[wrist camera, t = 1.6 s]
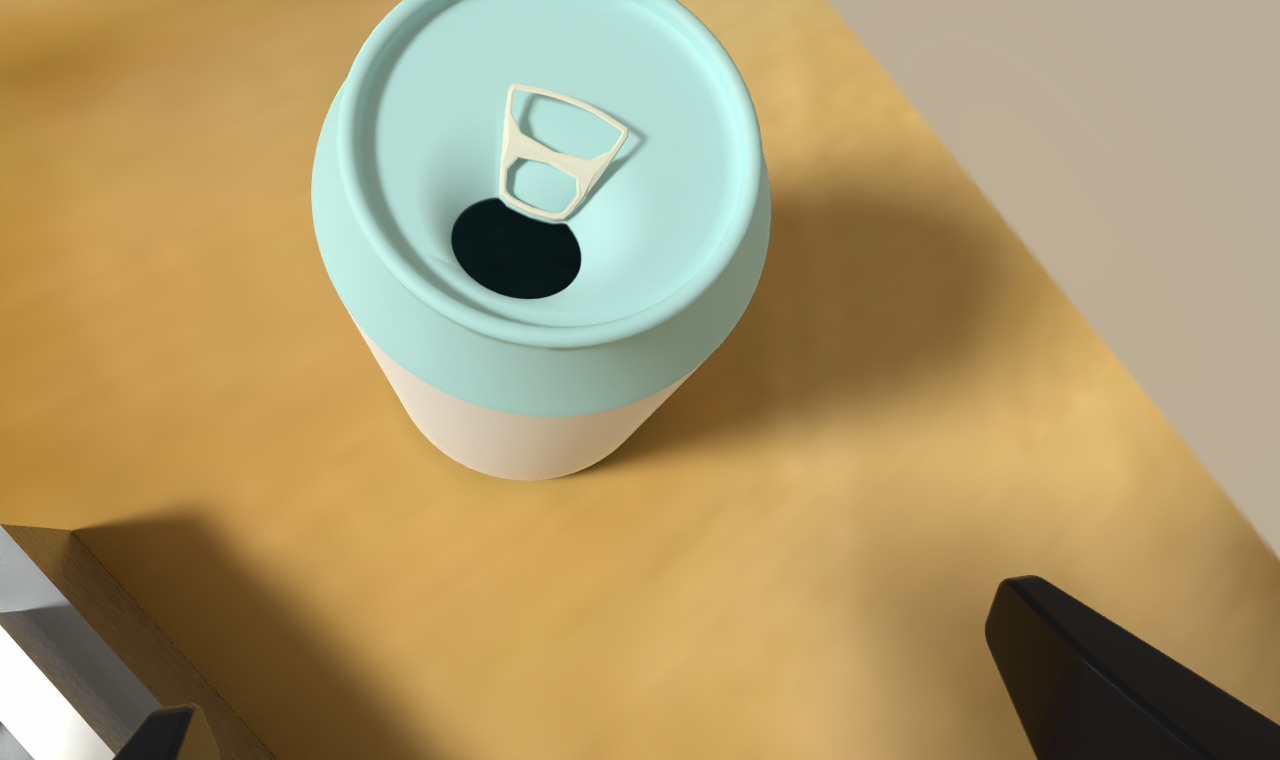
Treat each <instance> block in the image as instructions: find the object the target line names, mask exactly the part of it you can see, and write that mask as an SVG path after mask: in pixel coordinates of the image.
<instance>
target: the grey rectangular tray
mask: <svg viewBox="0 0 1280 760" xmlns="http://www.w3.org/2000/svg"><path fill="white" fill-rule="evenodd" d="M188 703H195V704H197V705H198V706H199V707H200V708H201V710H202V711H203V713H204V716H205V718H206V721H207V723H208V725H209V728H210V730H211V733H212V735H213V737H214V740H215V742H216V744H217V747H218V750H219V754H220V760H276V758H275V757H274V756H273V755H272V754H271V753H270V752H269V751H268V749H267V748H266V747H265V746H264V745H263V744H262V743H261V742H260V741H259V739H258V738H257V737H256V736H255V735H254V734H253V733H252V732H251V731H250V729H249V728H248V727H247V726H246V725H245V724H244V723H243V722H242V721H241V719H240V718H239V717H238V716H237V715H236V714H235V713H234V712H233V711H232V709H231V708H230V707H229V706H228V705H227V704H226V703H225V702H224V701H223V699H222V698H221V697H220V696H219V695H218V694H217V693H216V692H215V691H214V689H213V688H212V687H211V686H210V685H209V684H208V683H207V682H206V681H205V679H204V678H203V677H202V676H201V675H200V674H199V673H198V672H197V671H196V669H195V668H194V667H193V666H192V665H191V664H190V663H189V662H188V661H187V659H186V658H185V657H184V656H183V655H182V654H181V653H180V652H179V651H178V649H177V648H176V647H175V646H174V645H173V644H172V643H171V642H170V641H169V639H168V638H167V637H166V636H165V635H164V634H163V633H162V632H161V631H160V629H159V628H158V627H157V626H156V625H155V624H154V623H153V622H152V621H151V619H150V618H149V617H148V616H147V615H146V614H145V613H144V612H143V611H142V609H141V608H140V607H139V606H138V605H137V604H136V603H135V602H134V601H133V599H132V598H131V597H130V596H129V595H128V594H127V593H126V592H125V591H124V589H123V588H122V587H121V586H120V585H119V584H118V583H117V582H116V581H115V579H114V578H113V577H112V576H111V575H110V574H109V573H108V572H107V570H106V569H105V568H104V567H103V566H102V565H101V564H100V563H99V562H98V560H97V559H96V558H95V557H94V556H93V555H92V554H91V553H90V552H89V550H88V549H87V548H86V547H85V546H84V545H83V544H82V543H81V542H80V540H79V539H78V538H77V537H76V536H75V535H74V534H73V533H72V532H71V530H62V529H51V528H39V527H27V526H16V525H4V524H0V760H112V759H113V758H114V756H115V755H116V754H117V753H118V751H119V750H120V749H121V748H122V746H123V745H124V744H125V743H126V741H127V740H128V739H129V738H130V736H131V735H132V734H133V733H134V732H135V730H136V729H137V728H138V727H139V725H140V724H141V723H142V722H143V720H144V719H145V718H146V717H147V716H148V715H149V714H150V713H151V712H152V711H154V710H156V709H158V708H162V707H168V706H175V705H181V704H188Z"/></svg>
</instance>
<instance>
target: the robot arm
mask: <svg viewBox="0 0 1280 760" xmlns="http://www.w3.org/2000/svg"><path fill="white" fill-rule="evenodd" d="M985 637H986V641H987V644H988V647H989V649H990V652H991V654H992V656H993V659H994V661H995V663H996V666H997V668H998V670H999V673H1000V675H1001V677H1002V680H1003V682H1004V684H1005V687H1006V689H1007V691H1008V694H1009V696H1010V698H1011V701H1012V703H1013V705H1014V708H1015V710H1016V712H1017V715H1018V717H1019V719H1020V722H1021V724H1022V726H1023V729H1024V731H1025V733H1026V736H1027V738H1028V740H1029V743H1030V745H1031V747H1032V749H1033V751H1034V753H1035V756H1036V758H1037V760H1280V725H1278V724H1277V723H1275V722H1273V721H1272V720H1270V719H1269V718H1267V717H1265V716H1264V715H1262V714H1260V713H1259V712H1257V711H1256V710H1254V709H1252V708H1251V707H1249V706H1248V705H1246V704H1244V703H1243V702H1241V701H1240V700H1238V699H1236V698H1235V697H1233V696H1232V695H1230V694H1228V693H1227V692H1225V691H1223V690H1222V689H1220V688H1219V687H1217V686H1215V685H1214V684H1212V683H1211V682H1209V681H1207V680H1206V679H1204V678H1203V677H1201V676H1199V675H1198V674H1196V673H1194V672H1193V671H1191V670H1190V669H1188V668H1186V667H1185V666H1183V665H1182V664H1180V663H1178V662H1177V661H1175V660H1174V659H1172V658H1170V657H1169V656H1167V655H1165V654H1164V653H1162V652H1161V651H1159V650H1157V649H1156V648H1154V647H1153V646H1151V645H1149V644H1148V643H1146V642H1145V641H1143V640H1141V639H1140V638H1138V637H1136V636H1135V635H1133V634H1132V633H1130V632H1128V631H1127V630H1125V629H1124V628H1122V627H1120V626H1119V625H1117V624H1116V623H1114V622H1112V621H1111V620H1109V619H1107V618H1106V617H1104V616H1103V615H1101V614H1099V613H1098V612H1096V611H1095V610H1093V609H1091V608H1090V607H1088V606H1087V605H1085V604H1083V603H1082V602H1080V601H1079V600H1077V599H1075V598H1074V597H1072V596H1070V595H1069V594H1067V593H1066V592H1064V591H1062V590H1061V589H1059V588H1058V587H1056V586H1054V585H1053V584H1051V583H1050V582H1048V581H1046V580H1045V579H1043V578H1041V577H1038V576H1035V575H1026V576H1020V577H1013V578H1007V579H1004V580H1003V581H1002V582H1001V583H1000V584H999V586H998V588H997V591H996V594H995V597H994V600H993V603H992V605H991V608H990V611H989V614H988V617H987V620H986V623H985ZM112 760H220V754H219V750H218V747H217V744H216V742H215V740H214V737H213V735H212V733H211V730H210V728H209V725H208V723H207V721H206V718H205V716H204V713H203V711H202V710H201V708H200V707H199V706H198V705H197V704H195V703H188V704H181V705H175V706H168V707H162V708H158V709H156V710H154V711H152V712H151V713H150V714H149V715H148V716H147V717H146V718H145V719H144V720H143V722H142V723H141V724H140V725H139V727H138V728H137V729H136V730H135V732H134V733H133V734H132V735H131V736H130V738H129V739H128V740H127V741H126V743H125V744H124V745H123V746H122V748H121V749H120V750H119V751H118V753H117V754H116V755H115V756H114V758H113V759H112Z"/></svg>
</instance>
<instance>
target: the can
mask: <svg viewBox="0 0 1280 760" xmlns="http://www.w3.org/2000/svg"><path fill="white" fill-rule="evenodd" d="M311 194H312V214H313V220H314V227H315V233H316V238H317V241H318V245H319V249H320V253H321V256H322V259H323V261H324V264H325V267H326V269H327V272H328V274H329V277H330V279H331V281H332V283H333V285H334V287H335V289H336V291H337V293H338V295H339V297H340V298H341V300H342V302H343V304H344V305H345V307H346V309H347V310H348V312H349V314H350V315H351V317H352V319H353V321H354V322H355V324H356V326H357V327H358V329H359V331H360V333H361V334H362V336H363V338H364V339H365V341H366V343H367V344H368V346H369V348H370V350H371V351H372V353H373V355H374V356H375V358H376V360H377V361H378V363H379V365H380V367H381V368H382V370H383V372H384V373H385V375H386V377H387V379H388V380H389V382H390V384H391V385H392V387H393V389H394V390H395V392H396V394H397V396H398V397H399V399H400V401H401V402H402V404H403V406H404V407H405V409H406V411H407V413H408V414H409V416H410V417H411V419H412V420H413V422H414V423H415V425H416V426H417V427H418V428H419V430H420V431H421V432H422V433H423V434H424V435H425V436H426V437H427V438H428V440H429V441H430V442H431V443H432V444H434V445H435V446H436V447H437V448H438V449H440V450H441V451H442V452H443V453H445V454H446V455H448V456H449V457H451V458H452V459H454V460H455V461H457V462H459V463H461V464H463V465H465V466H466V467H468V468H471V469H473V470H476V471H478V472H481V473H484V474H487V475H491V476H494V477H499V478H504V479H512V480H544V479H551V478H556V477H561V476H565V475H568V474H572V473H575V472H577V471H580V470H582V469H585V468H587V467H589V466H591V465H593V464H595V463H597V462H598V461H600V460H602V459H603V458H605V457H606V456H608V455H609V454H611V453H612V452H613V451H614V450H615V449H617V448H618V447H619V446H620V445H621V444H622V443H623V442H624V441H625V440H626V439H627V438H628V437H629V436H630V435H631V434H632V433H633V432H634V431H635V430H636V429H637V428H638V427H639V426H640V425H641V424H642V423H643V422H644V421H645V420H646V419H647V418H648V417H649V416H650V415H651V414H652V413H653V412H654V411H655V410H656V409H657V408H658V407H659V406H660V405H661V404H662V403H663V402H664V401H665V400H666V399H667V398H668V397H669V396H670V395H671V394H672V393H673V392H674V391H675V390H676V389H677V388H678V387H679V386H680V385H681V384H682V383H683V382H684V381H685V380H686V379H687V378H688V377H689V376H690V375H691V374H692V373H693V372H694V371H695V370H696V369H697V368H698V367H699V366H700V365H701V364H702V363H703V362H704V361H705V360H706V359H707V358H708V357H709V356H710V355H711V354H712V353H713V352H714V351H715V350H716V349H717V348H718V347H719V346H720V345H721V344H722V343H723V341H724V340H725V339H726V338H727V336H728V335H729V334H730V333H731V331H732V330H733V329H734V327H735V326H736V324H737V323H738V321H739V320H740V318H741V317H742V315H743V313H744V312H745V310H746V308H747V306H748V304H749V302H750V300H751V298H752V296H753V294H754V292H755V290H756V287H757V284H758V282H759V279H760V277H761V274H762V270H763V267H764V263H765V259H766V255H767V250H768V243H769V237H770V224H771V193H770V184H769V177H768V171H767V166H766V162H765V158H764V154H763V150H762V140H761V133H760V127H759V123H758V119H757V115H756V111H755V107H754V104H753V102H752V99H751V96H750V93H749V91H748V88H747V86H746V84H745V82H744V80H743V78H742V76H741V74H740V72H739V70H738V68H737V67H736V65H735V63H734V62H733V60H732V58H731V57H730V55H729V54H728V52H727V51H726V50H725V48H724V47H723V46H722V44H721V43H720V41H719V40H718V39H717V38H716V37H715V36H714V34H713V33H712V32H711V31H710V30H709V29H708V28H707V26H706V25H704V24H703V23H702V22H701V21H700V20H699V19H698V18H697V17H696V16H695V15H694V14H693V13H692V12H691V11H689V10H688V9H687V8H686V7H685V6H683V5H682V4H681V3H680V2H678V1H677V0H402V1H401V2H400V3H399V4H398V5H397V6H396V7H395V8H394V9H393V10H391V11H390V12H389V13H388V14H387V15H386V16H385V18H384V19H383V20H382V21H381V22H380V23H379V24H378V25H377V27H376V28H375V29H374V30H373V32H372V33H371V35H370V36H369V37H368V39H367V40H366V42H365V43H364V44H363V46H362V48H361V50H360V52H359V53H358V55H357V57H356V59H355V60H354V63H353V65H352V67H351V70H350V72H349V74H348V77H347V78H346V80H345V81H344V83H343V84H342V86H341V88H340V89H339V91H338V93H337V95H336V97H335V98H334V100H333V102H332V104H331V107H330V109H329V111H328V114H327V116H326V118H325V121H324V124H323V127H322V130H321V134H320V137H319V140H318V144H317V149H316V154H315V160H314V165H313V174H312V189H311Z"/></svg>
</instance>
